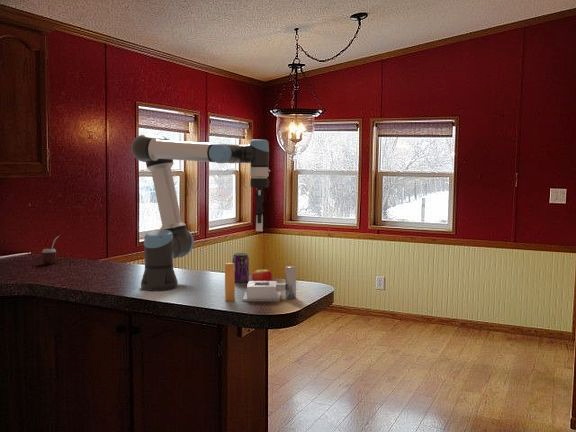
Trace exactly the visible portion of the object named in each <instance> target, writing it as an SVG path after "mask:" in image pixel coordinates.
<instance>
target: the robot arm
mask: <svg viewBox="0 0 576 432" xmlns="http://www.w3.org/2000/svg"><path fill="white" fill-rule="evenodd" d="M269 144H270V143H269V141H268V140H267V139H251V140H250V144H233V143H232V144H231V143H221V142H220V143H219V142H218V143H215V142H213V143H212V142H197V141H180V140H179V141H177V140H171V139H170V138H169V137H167V136H164V135H161V134H158V135H157V134H155V135H154V134H152V135H151V134H141V135H138V136H136V137H135V138H133V141H132V142H131V145H130V149H131V154H132V155H133V158H135V160H137V161H139V162H142V163H145V165H146V169H147V170H149V171H150V172H151V177H152V183H153V186H154V187H153V188H154V191H155V196H156V197H155V198H156V201H157V207H158V211H159V216H160V221H161V227H160V228H159V229H157V230H152V231H149V232H147V233H145V235H144V237H143V238H144V239H143V249H144V250H143V252H144V255H143V256H144V272H143V275H142V277H141V281H140V289H141V290H144V291H156V292H157V291H158V292H159V291H167V290H168V291H169V290H174V289H176V288H178V287H179V286H178V285H179V284H178V283H179V282H178V278H177V275H176V272H175V270H174V269H175V268H174V259H177V258H183V257H184V256H186V255H188V254H190V252H192V250H193V248H194V245H195V244H194V243H195V240H194V239H195V238H194V236H193V234H192V233H191V232H190V231H189V230H188V228H187V224H186V223H184V222H183V221H182V216H181V212H180V208H179V207H180V206H179V202H178V197H177V192H176V187H175V182H174V176H173V172H172V171H173V170H172V167H173V165H174V160H175V161H190V162H204V163H205V162H207V163H217V164H250V167H249V169H250V171H249V173H250V174H249V176H250V182H249V184H250V185H249V186H250V187H251V188H256V191H254V197H255V198H254V199H255V203H256V204H255V205H256V211H255V212H254V216H255V232H263V231H264V229H263V227H264V212H265V209H263V208H264V207H263V205H264V204H263V203H264V200H265V199H264V197H265V191H264V190H263V189H264V188H265V189H266V188H269V186H270V185H269V184H270V180H269V178H268V177H269V174H270V172H271V169H269V166H270V165H269V164H270V162H269V161H270V147H269V146H270V145H269Z"/></svg>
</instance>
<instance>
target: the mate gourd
mask: <svg viewBox="0 0 576 432" xmlns="http://www.w3.org/2000/svg"><path fill="white" fill-rule="evenodd" d="M59 237H60V235H58V236H57V237H55V238H54V239H53V242H52V245H51V248H50V247H49V248H44V249H43V250H42V251H41V259H42V262H43V264H42V265H43V266H53V265H55V264H56V261H57V251H56V249H55V248H54V245H55V243H56V240H57V239H58V238H59Z"/></svg>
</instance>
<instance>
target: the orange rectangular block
mask: <svg viewBox="0 0 576 432" xmlns="http://www.w3.org/2000/svg"><path fill="white" fill-rule="evenodd" d="M235 286H236V285H235V273H234V263H233V262H225V263H224V299H225V300H224V301H226V302H234V301H236V300H235V299H236V298H235V297H236V296H235V295H236V293H235V292H236V290H235V289H236V288H235Z"/></svg>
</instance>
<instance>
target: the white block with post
mask: <svg viewBox="0 0 576 432" xmlns="http://www.w3.org/2000/svg"><path fill="white" fill-rule="evenodd" d="M282 292H285V299H286V300H295V299H297V266H294V265H289V266H288V265H287V266H285V282H278V281H277V280H271V281H253V280H248V282H247V286H246V291H244V294H243V297H242V302H281V296H282V295H281V293H282Z"/></svg>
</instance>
